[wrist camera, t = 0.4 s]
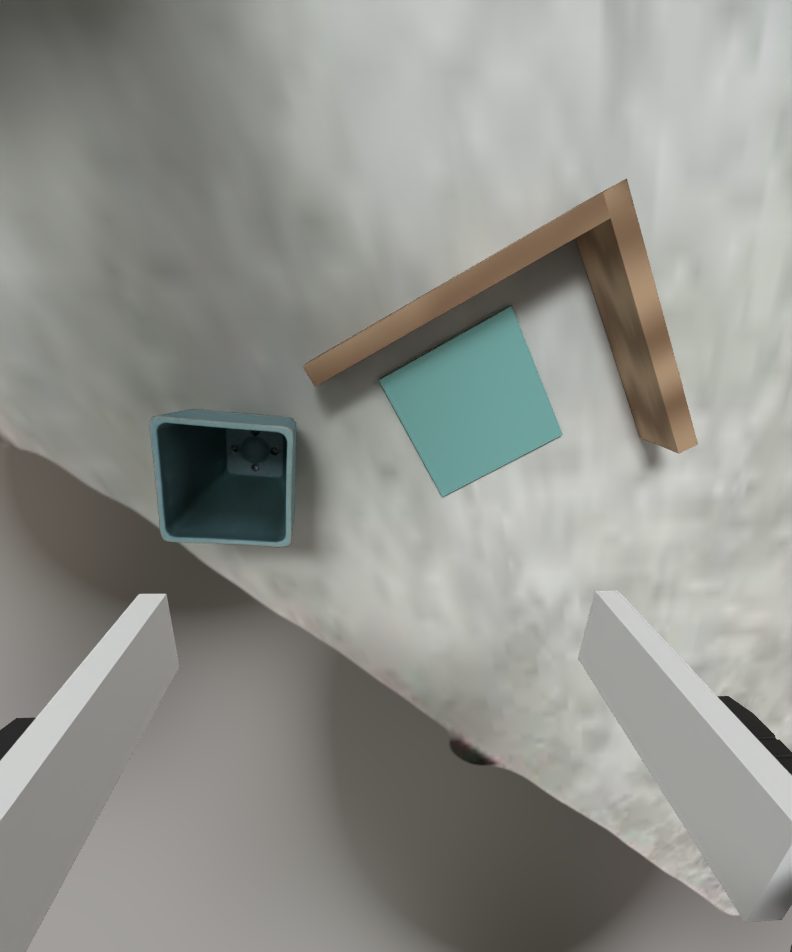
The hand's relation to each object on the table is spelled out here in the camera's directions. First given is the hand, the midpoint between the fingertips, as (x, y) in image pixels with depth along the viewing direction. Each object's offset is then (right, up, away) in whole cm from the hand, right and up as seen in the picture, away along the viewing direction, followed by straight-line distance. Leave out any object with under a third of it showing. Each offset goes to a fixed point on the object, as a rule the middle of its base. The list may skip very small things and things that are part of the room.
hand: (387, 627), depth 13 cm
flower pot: (-12, +7, +23) cm, 27 cm away
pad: (+7, +11, +23) cm, 26 cm away
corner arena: (+9, +12, +23) cm, 27 cm away
